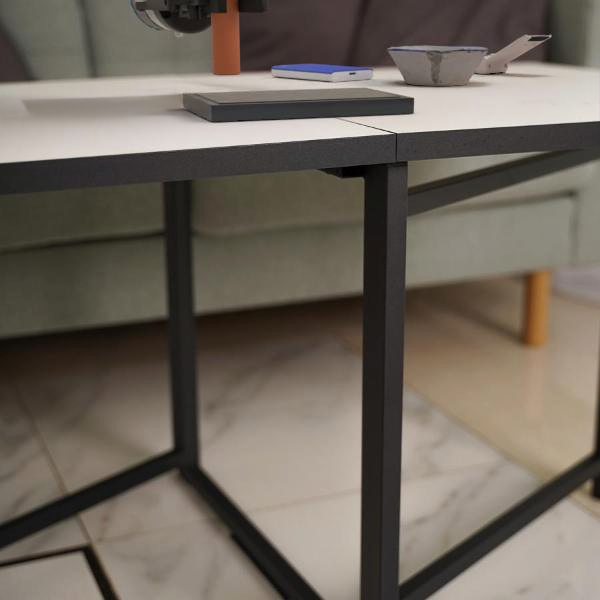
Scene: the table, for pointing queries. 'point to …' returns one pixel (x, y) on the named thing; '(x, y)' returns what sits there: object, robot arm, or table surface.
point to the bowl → (437, 64)
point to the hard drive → (322, 72)
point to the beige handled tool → (508, 54)
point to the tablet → (296, 104)
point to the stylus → (226, 40)
